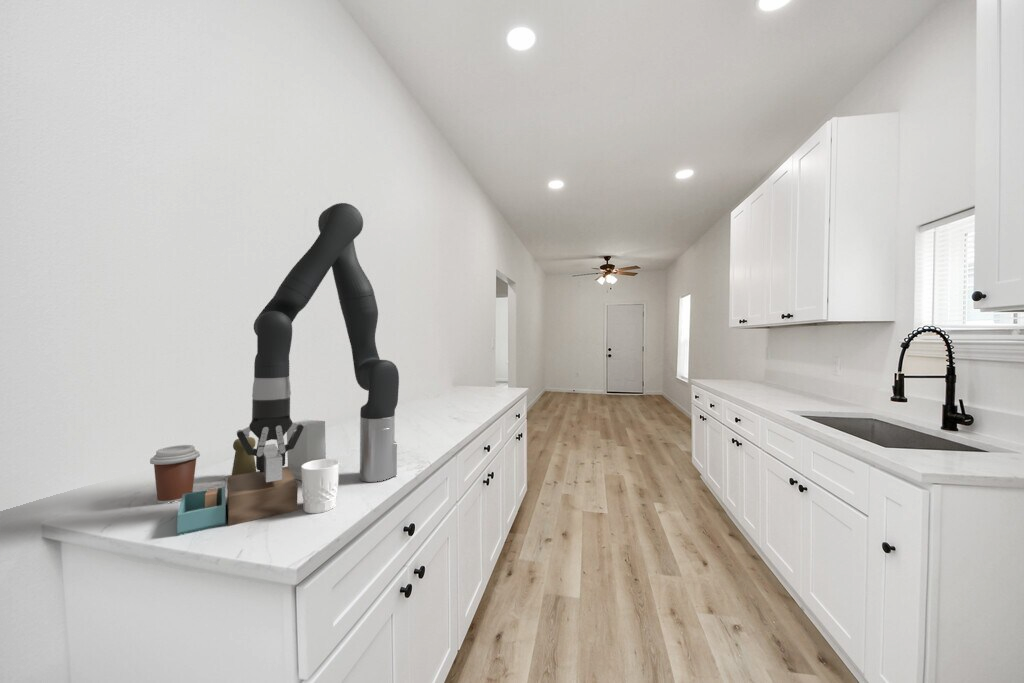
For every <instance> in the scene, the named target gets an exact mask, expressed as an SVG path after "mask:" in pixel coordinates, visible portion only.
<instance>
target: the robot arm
mask: <svg viewBox="0 0 1024 683" xmlns="http://www.w3.org/2000/svg"><path fill="white" fill-rule="evenodd" d="M317 222H318V223H317V224H318V226H317V228H318V230H319V233H320V234H318V236H317V238H316V239H315V241H314V242H313V243H312V245H311V247H309V249H308V250H307V251H306V252H305V253H304V254H303V255H302V257H301V258H300V259H299V260H298V261H297V263H295V264H294V266H292V268H291V269H290V270H289V272H288V273H287V275H286V276H285V278H284V279H283V280H282V282H281V284H280V285H279V287H278V289H277V290H276V292H275V293H274V296H273V297H272V298H271V299H270V300H269V301H268V303H267V304H266V305H265V306H264V308H263V309H262V310H261V312H260V313H259V314H258V316H257V317H256V319H255V320H254V323H253V331H254V333H255V335H256V344H257V345H256V347H257V348H256V349H257V351H256V352H257V353H256V355H255V358H254V362H253V363H254V365H253V366H254V367H253V370H254V372H253V375H254V376H253V377H254V378H253V382H252V384H253V385H252V394H251V397H252V400H251V402H252V405H251V406H252V408H251V411H252V412H251V421H250V422H249V426H247V427H245V428H243V429H238V430H237V431H236V436H237V439H239V440H240V442H241V443H242V445H243V447H244V449H245V451H246V452H247V454H248V455H254V457H256V458H255V465H256V471H260V473H261V472H264V456H263V451H264V447H265V445H266V444H267V442H268V441H271V440H274V441H276V443H277V444H276V445H277V448H278V450H279V452H280V454H281V455H282V467H285V465H286V454H287V451H288V450H290V449H293V448H294V447H295V445H296V442H297V440H298V438H299V436H300V434H301V432H302V430H303V428H304V427H303V425H302V424H296V423H293V421H292V419H291V396H292V395H291V394H292V391H291V381H290V353H291V346H292V340H293V322H294V320H295V319H296V317H297V315H298V314H299V313H300V312H301V311H302V310H303V309H304V308H305V307H306V306H307V305H308V304H309V301H311V299H312V297H313V296H314V294H315V293H316V291H317V289H318V288H319V286H320V285H321V283H322V282H323V280H324V278H325V277H326V276H327V274H328V272H329V271H330V269H331V270H332V275H333V279H334V284H335V287H336V292H337V297H338V301H339V302H338V303H339V305H340V310H341V313H342V317H343V319H344V320H343V321H344V324H345V328H346V331H347V336H348V339H349V343H350V349H351V355H352V362H353V370H354V375H355V380H356V382H357V384H358V385H359V387H360V388H361V389H363V390H365V391H368V393H367V394H368V397H367V401H366V403H365V404H364V405H362V406H361V407H360V413H359V414H360V415H359V416H360V417H359V418H360V421H359V425H360V426H359V430H360V431H359V479H360V480H361V482H367V483H378V482H383V480H384V481H387V480H390V479H392V478H393V476H394V477H397V476H396V475H398V472H397V470H398V469H397V468H398V461H397V460H398V443H397V441H395V424H396V423H395V420H396V418H395V416H396V413H395V412H396V409H397V405H398V400H399V387H400V375H399V369H398V367H397V365H396V364H395V363H394V362H392V361H391V360H389V359H388V360H387V359H380V355H379V353H378V349H377V344H376V332H377V325H378V318H379V308H378V304H377V300H376V296H375V291H374V289H373V286H372V283H371V281H370V280H369V278H368V277H367V275H366V273H365V271H364V270H363V268H362V266H361V264H360V262H359V259H358V256H357V251H356V246H355V241H354V240H355V239H356V238H357V237H358V236H359V235H360V234H361V233H362V231H363V228H364V219H363V216H362V214H361V211H359V209H357V207H355V206H354V205H352V204H350V203H346V202H340V203H336V204H335V203H334V204H333V205H331V206H329V207H327V208H326V209H325V210H323V211H322V212H321V214H320V215H319V218H318V220H317ZM290 427H292V432H293V434H292V436H291V438H290V440H289V442H288V444H287V443H285V439H284V436H285V435H286V434H287V431H288V429H289V428H290ZM250 432H252V434H254V435H255V437H256V438H257V444H256V448H255V447H254V448H252V447H251V445H250V443H249V441H248V440H247V438H248V437H250ZM391 477H392V478H391ZM389 478H390V479H389ZM386 479H387V480H386ZM377 481H378V482H377Z"/></svg>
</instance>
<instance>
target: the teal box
mask: <svg viewBox="0 0 1024 683" xmlns="http://www.w3.org/2000/svg"><path fill="white" fill-rule="evenodd" d="M218 488H219V505H218V506H215V507H210V508H205V494H206V492H207V490H208V489H204V490H198V491H193V492H192V493H186V494H183V495H182V499H181V501H180V504H179V508H178V512H177V517H176V518H177V523H176V524H177V528H176V532H177V534H176V535H178V536H181V535H180V534H182V535H185V534H184V533H187V534H191V533H195V531H196V532H199V530H200V531H205V530H208V529H212V528H217V527H218V528H219V527H221V526H222V527H223V526H226V508H227V507H226V504H227V503H226V486H221V487H218ZM204 508H205V509H204ZM199 509H200V510H199ZM194 510H195V511H194ZM189 511H190V512H189Z"/></svg>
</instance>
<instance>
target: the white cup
mask: <svg viewBox="0 0 1024 683" xmlns="http://www.w3.org/2000/svg"><path fill="white" fill-rule="evenodd" d="M301 474H302V480H301V491H302V493H301V494H302V500H303V501H302V506H303V512H305V513H307V514H321V513H325V512H328V511H331V510H332V508H333V509H334V508H335V507H336V505H337V503H338V502H337V500H338V499H337V498H338V491H339V490H338V489H339V476H340V460H338V459H334V458H326V459H320V460H314V461H310V462H307V463H305V464H303V465H302V466H301Z"/></svg>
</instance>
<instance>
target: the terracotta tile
mask: <svg viewBox="0 0 1024 683" xmlns="http://www.w3.org/2000/svg"><path fill="white" fill-rule="evenodd" d="M219 488H220V487H213V488H207V489H206V490H207V492H206V494H205V508H209V507H215V506H218V505H219Z"/></svg>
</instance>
